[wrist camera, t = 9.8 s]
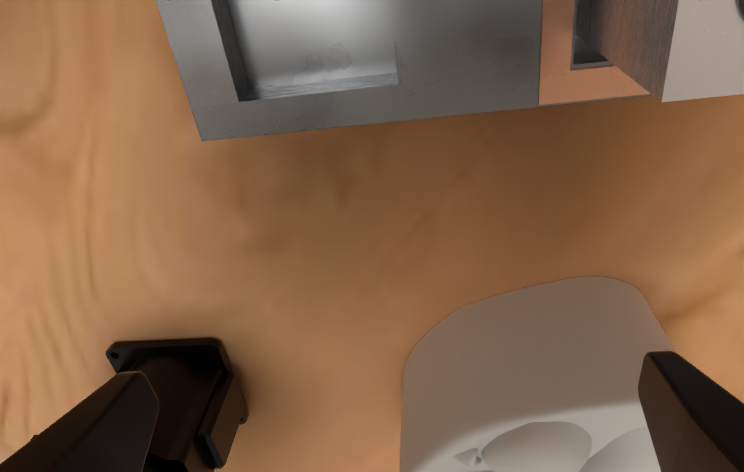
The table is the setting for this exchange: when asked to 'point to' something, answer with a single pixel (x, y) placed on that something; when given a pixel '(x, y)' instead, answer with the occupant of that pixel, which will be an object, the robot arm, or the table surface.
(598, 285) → the lumpy-topped squat cylinder
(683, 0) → the block
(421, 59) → the grey flat block
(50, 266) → the table surface
